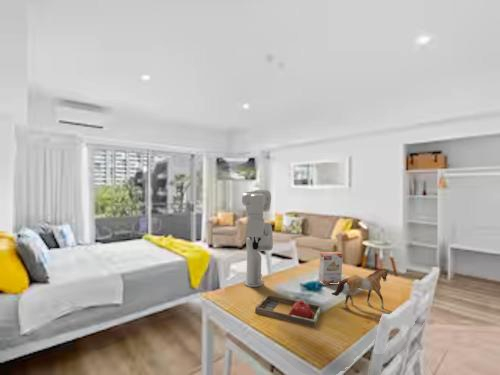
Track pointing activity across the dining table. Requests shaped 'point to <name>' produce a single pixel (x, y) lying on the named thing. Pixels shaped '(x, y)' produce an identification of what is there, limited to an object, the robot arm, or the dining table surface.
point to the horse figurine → (363, 285)
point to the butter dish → (301, 310)
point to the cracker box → (330, 267)
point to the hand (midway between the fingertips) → (255, 248)
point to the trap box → (273, 302)
